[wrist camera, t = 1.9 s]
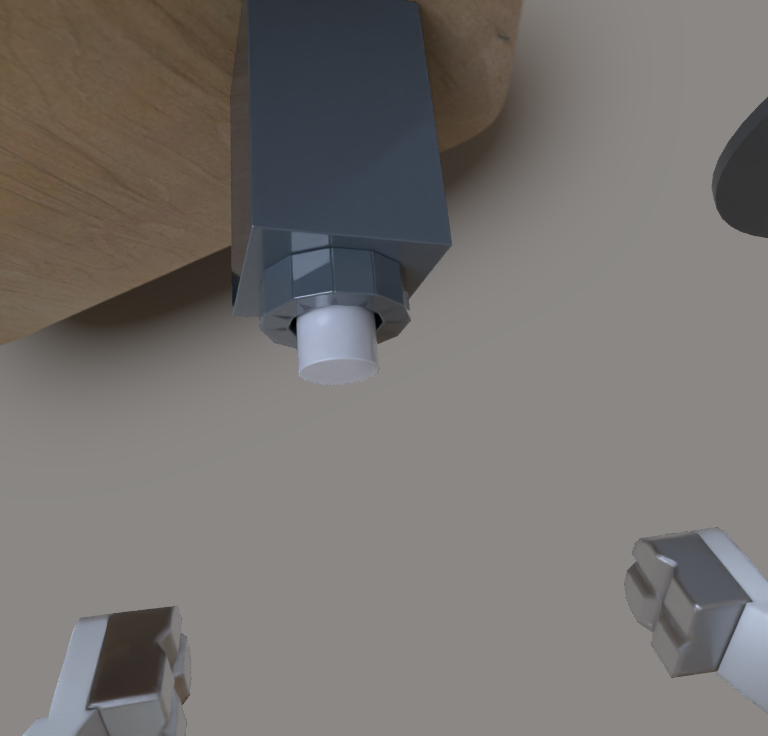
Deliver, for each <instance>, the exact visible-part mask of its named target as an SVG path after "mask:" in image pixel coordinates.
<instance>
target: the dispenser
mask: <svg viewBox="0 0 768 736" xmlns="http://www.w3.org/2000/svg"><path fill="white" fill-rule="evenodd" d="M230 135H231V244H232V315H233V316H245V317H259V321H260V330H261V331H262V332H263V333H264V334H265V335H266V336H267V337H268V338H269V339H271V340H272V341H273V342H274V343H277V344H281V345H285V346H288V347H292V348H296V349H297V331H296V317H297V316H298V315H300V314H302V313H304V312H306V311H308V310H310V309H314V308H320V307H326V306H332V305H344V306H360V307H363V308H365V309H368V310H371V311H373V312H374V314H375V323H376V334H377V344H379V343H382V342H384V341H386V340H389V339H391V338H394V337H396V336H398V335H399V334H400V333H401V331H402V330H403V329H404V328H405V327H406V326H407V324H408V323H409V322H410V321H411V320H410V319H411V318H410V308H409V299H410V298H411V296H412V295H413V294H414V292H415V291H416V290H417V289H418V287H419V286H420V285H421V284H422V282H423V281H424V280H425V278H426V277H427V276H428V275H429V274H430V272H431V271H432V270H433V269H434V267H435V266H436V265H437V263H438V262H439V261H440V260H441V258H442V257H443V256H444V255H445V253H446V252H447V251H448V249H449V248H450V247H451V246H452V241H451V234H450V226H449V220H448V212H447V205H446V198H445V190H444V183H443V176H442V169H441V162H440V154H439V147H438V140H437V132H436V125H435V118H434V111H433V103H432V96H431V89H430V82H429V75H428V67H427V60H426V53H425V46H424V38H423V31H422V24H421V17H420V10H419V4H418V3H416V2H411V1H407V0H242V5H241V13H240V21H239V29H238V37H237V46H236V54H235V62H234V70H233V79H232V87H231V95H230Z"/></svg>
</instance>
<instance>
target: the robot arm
mask: <svg viewBox="0 0 768 736" xmlns="http://www.w3.org/2000/svg"><path fill="white" fill-rule="evenodd" d="M632 555H633V556H634V558H635V559H636V562H635V563H634V564H633V565H632V566H631V567H630V568H629V569H628V570H627V573H626V578H625V583H624V585H625V592H626V599H627V601H628V604H629V607H630V609H631V611H632V613H633V614H634V616H635V618H636V620H637V622H638V623H640V624H641V625H643V626H644V627H646V628H647V629H649V630H650V631H652V641H651V645H652V647H653V648H654V650H655V652H656V653H657V655H658V656H659V658H660V660H661V662H662V663H663V664H664V666H665V668H666V670H667V671H668V673H669V675H670V676H671V678H674V677H681V676H688V675H694V674H701V673H708V672H715V671H717V675H718V676H720V677H721V678H722V679H724V680H725V681H726V682H727V683H729V684H730V685H731V686H733V687H734V688H735V689H736V690H738V691H739V692H740V693H742V694H743V695H744V696H745V697H747V698H748V699H749V700H751V701H752V702H753V703H754V704H756V705H757V706H758V707H759V708H761V709H762V710H763V711H765V712H766V713H767V714H768V581H767V580H766V578H765V577H764V576H763V575H762V574H761V573H760V571H759V570H758V569H757V568H756V567H755V566H754V565H753V563H752V562H751V561H750V560H749V559H748V558H747V557H746V555H745V554H744V553H743V552H742V551H741V550H740V549H739V547H738V546H737V545H736V544H735V543H734V542H733V541H732V539H731V538H730V537H729V536H728V535H727V534H726V533H725V532H724V531H723V530H721V529H719V528H718V527H716V528H708V529H701V530H694V531H690V532H689V531H684V532H678V533H672V534H665V535H659V536H652V537H646V538H640V539H639V540H638V541H637V542H636V543H635V544H634V547H633V551H632ZM181 624H182V618H181V615H180V611H179V608H178V606H173V607H164V608H155V609H147V610H138V611H130V612H121V613H113V614H106V615H98V616H91V617H83V618H80V620H79V621H78V623H77V624H76V626H75V627H74V630H73V633H72V636H71V640H70V643H69V646H68V650H67V653H66V657H65V660H64V663H63V667H62V670H61V673H60V677H59V681H58V684H57V687H56V690H55V694H54V698H53V701H52V704H51V707H50V711H49V714H48V716H47V717H43V718H38V719H37V720H36V721H35V722H34V723H33V724H32V725H31V726H30V727H29V729H27V731H26V732H25V733H24V734H23V735H22V736H186V727H187V721H186V718H185V714H184V710H183V707H182V705H183V704H184V702H185V701H186V700H187V698H188V697H189V696H190V686H191V656H190V648H189V643H188V640H187V637H186V636H185V635H183V634H182V633H181Z"/></svg>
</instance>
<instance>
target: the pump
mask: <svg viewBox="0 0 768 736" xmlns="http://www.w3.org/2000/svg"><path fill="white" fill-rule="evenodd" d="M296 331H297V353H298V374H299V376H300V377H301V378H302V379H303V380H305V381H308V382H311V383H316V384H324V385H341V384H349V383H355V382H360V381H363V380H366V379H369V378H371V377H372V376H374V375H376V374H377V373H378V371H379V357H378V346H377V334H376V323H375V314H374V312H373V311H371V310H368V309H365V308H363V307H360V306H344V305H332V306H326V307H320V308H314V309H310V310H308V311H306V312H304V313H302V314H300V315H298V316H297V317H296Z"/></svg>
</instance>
